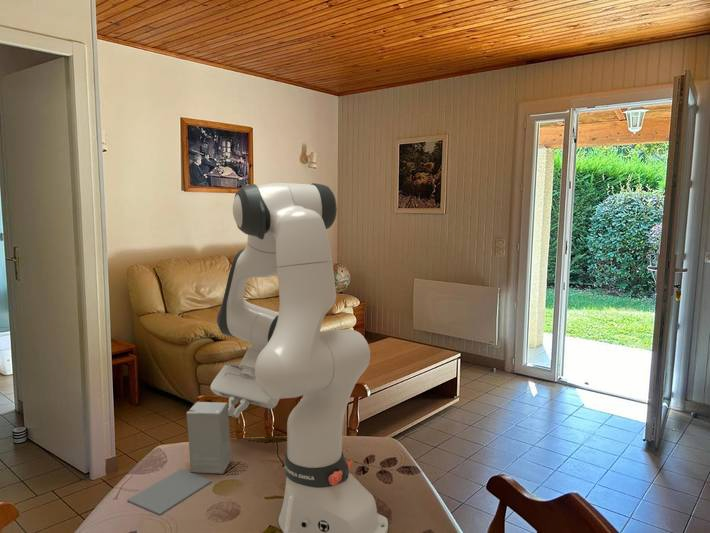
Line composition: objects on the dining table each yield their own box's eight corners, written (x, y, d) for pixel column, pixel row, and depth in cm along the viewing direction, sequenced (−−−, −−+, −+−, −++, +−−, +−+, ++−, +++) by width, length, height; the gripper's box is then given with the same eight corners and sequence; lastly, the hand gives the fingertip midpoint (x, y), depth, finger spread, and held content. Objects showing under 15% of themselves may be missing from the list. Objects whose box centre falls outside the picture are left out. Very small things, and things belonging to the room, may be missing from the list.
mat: (212, 482, 121) (212, 480, 121) (159, 515, 108) (159, 513, 108) (181, 470, 126) (180, 468, 126) (127, 501, 113) (127, 499, 113)
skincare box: (231, 461, 131) (231, 401, 129) (221, 476, 124) (220, 412, 122) (198, 459, 132) (197, 399, 129) (187, 474, 124) (185, 410, 122)
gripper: (221, 355, 143) (195, 402, 136) (281, 368, 133) (257, 419, 126) (232, 367, 147) (207, 412, 140) (292, 380, 138) (268, 429, 131)
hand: (231, 415), depth 133 cm, fingers closed
